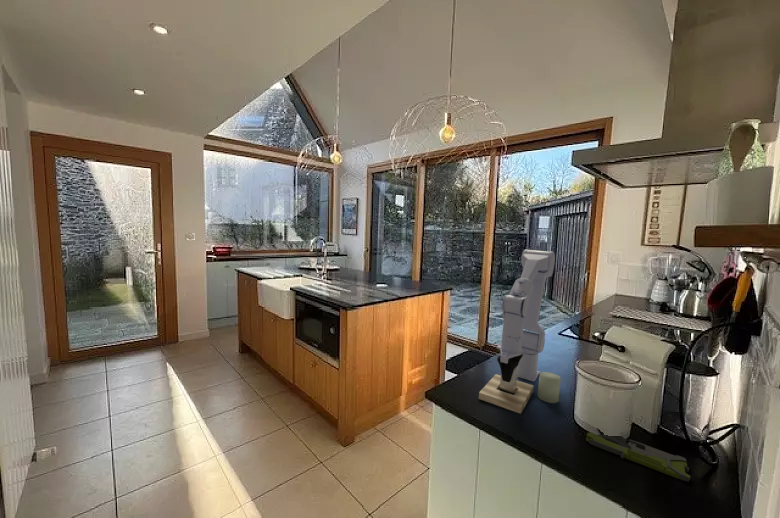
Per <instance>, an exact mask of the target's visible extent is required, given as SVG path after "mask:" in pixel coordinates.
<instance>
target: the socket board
mask: <svg viewBox="0 0 780 518" xmlns="http://www.w3.org/2000/svg"><path fill="white" fill-rule="evenodd" d="M500 378H501V374H496V373H495V374H494V375H493V376H492V377H491V379H489V381H488V382H487V383H486V384H485V386H484V387H483V388H481V390H480V391H479V392H478V400H481V401H484V402H487V403H489V404H492V405H495V406H498V407H500V408H504V409H506V410H509V411H512V412H515V413H518V414H520V415H522V412H523V411H524V409H525V407H526V405H527V404H528V403H529V400H530V398H531V396H532V394H533V393H534V387H535V385H533V384H531V383H527V382H523V381H520V380H517V387H516V388H515V390H514V391H511V390H508V389H504V388H501V387H500ZM505 391H506V392H505ZM508 392H509V393H508ZM511 393H513V394H511Z"/></svg>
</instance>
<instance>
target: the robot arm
mask: <svg viewBox="0 0 780 518" xmlns="http://www.w3.org/2000/svg"><path fill="white" fill-rule="evenodd" d="M520 259H521V260H520V262H521V266H522V273H521V276H520V277H519V278H517V279H515V281H514V283H513V284H512V287H511V290H510V291H509V293H508V295H505V296H504V297H503V299H502V301H501V302H502V303H501V313H502V314H501V315H502V317H501V318H502V320H503V323H502V331H501V332H502V333H501V334H502V336H501V345H497V347H496V349H497V350H500V355H498V356H497V357H496V360H497V362H498V365H499V368H500V376H501V375H502V380H503V381H506V382H510V380H511V378H512V373H513V370H514V368H515V366H516V364H519V368H518V378H520V379H523V380H526V381H530V382H533V383H534V382H535V381H536V380H537V378H539V377H538V376H540V373H541V371H539V370H538V363H539V362H538V361H539V354H540V353H542V352H543V351H544V348H545V341H546V338H545V337H546V331H545V330H544V329H543V327H541V326H540V324H539V319H540V312H541V308H542V307H541V305H542V302H543V301H542V300H543V294H544V288H545V283H546V281H547V278H550V277H553V274H554V270H555V269H554V268H555V262H556V255H555V252H554V251H545V250H534V249H528V248H527V249H524V250H523V251H522V253H521V258H520ZM530 331H531V332H530Z"/></svg>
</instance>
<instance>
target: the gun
mask: <svg viewBox="0 0 780 518" xmlns="http://www.w3.org/2000/svg"><path fill="white" fill-rule="evenodd" d="M599 433H600V434H596V433H594V432H587V433H586V438H585V441H586V442H588V444H589V445H591V446H594V447H595V448H599V449H602V450H604V451H607V452H610V453H612V454H615V455H618V456H620V458H621V459H626V460H628V461H630V462H634V463H637V464H639V465H642V466H644V467H647V468H649V469H651V470H655V471H656V472H659V473H662V474H665V475H666V476H669V477H672V478H675V479H678V480H681V481H683V482H690V480H691V475H690V474H688V473H689V470H690V468H689V466H688V464H687V459H686V457H683V456H680V455H677V454H676V455H674V454H671V453H668V452H666V451H663V450H660V449H658V448H655V447H653V446H649V445H648V444H647V445H646V444H644V443H641V442H639V441H636V440H633V439H627V438H624V437H623V435H622V436H608V435H604V433H603V432H600V431H599Z"/></svg>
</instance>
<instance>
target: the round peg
mask: <svg viewBox="0 0 780 518" xmlns="http://www.w3.org/2000/svg"><path fill="white" fill-rule="evenodd" d="M538 376H539V377H538V387H537V395H536V396H537V398H538V399H539V400H540V401H543V402H546V403H549V404H558V403H559V399H560V390H561V382H562V381H561V380H562V378H561V376H559V375H558V374H556V373H553V372H549V371H540V373H539V375H538Z"/></svg>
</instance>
